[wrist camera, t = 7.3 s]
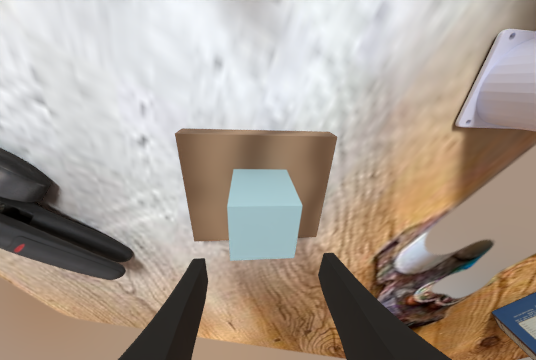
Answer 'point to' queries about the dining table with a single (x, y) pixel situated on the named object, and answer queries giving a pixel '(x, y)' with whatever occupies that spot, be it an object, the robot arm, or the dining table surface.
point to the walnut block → (251, 157)
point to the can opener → (50, 227)
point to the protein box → (520, 323)
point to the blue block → (262, 215)
